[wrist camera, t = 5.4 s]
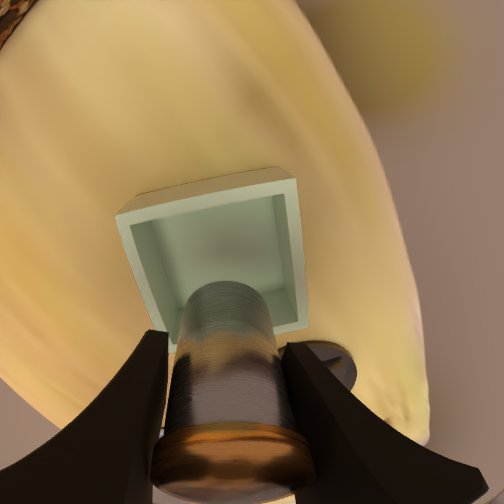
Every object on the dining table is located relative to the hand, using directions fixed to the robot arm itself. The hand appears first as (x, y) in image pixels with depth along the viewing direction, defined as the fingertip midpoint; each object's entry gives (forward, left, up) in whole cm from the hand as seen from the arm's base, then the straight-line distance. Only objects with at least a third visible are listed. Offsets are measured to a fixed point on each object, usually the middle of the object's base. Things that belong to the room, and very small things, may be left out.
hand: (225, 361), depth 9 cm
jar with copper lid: (0, 0, -3) cm, 3 cm away
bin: (0, 0, -10) cm, 10 cm away
